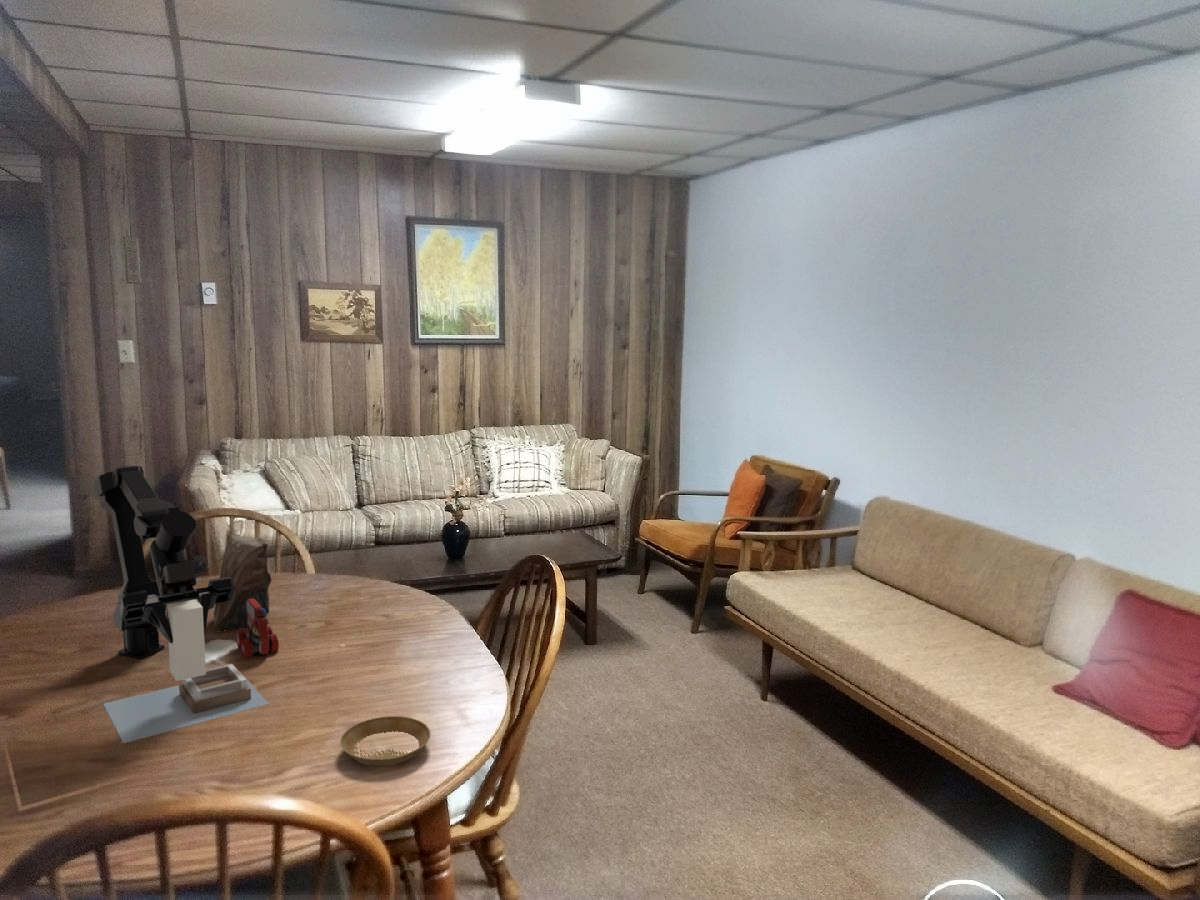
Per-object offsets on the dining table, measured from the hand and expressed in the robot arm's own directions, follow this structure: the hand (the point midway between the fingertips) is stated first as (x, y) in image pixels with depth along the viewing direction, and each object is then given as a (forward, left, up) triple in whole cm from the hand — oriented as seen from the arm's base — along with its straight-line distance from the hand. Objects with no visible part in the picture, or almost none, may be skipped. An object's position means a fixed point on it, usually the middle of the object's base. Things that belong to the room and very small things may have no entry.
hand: (188, 638), depth 152 cm
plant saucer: (+41, +2, -14) cm, 43 cm away
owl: (-24, +37, -14) cm, 46 cm away
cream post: (-1, +1, -7) cm, 7 cm away
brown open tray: (+1, +5, -13) cm, 14 cm away
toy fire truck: (-8, +26, -14) cm, 30 cm away
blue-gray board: (-2, 0, -13) cm, 14 cm away
